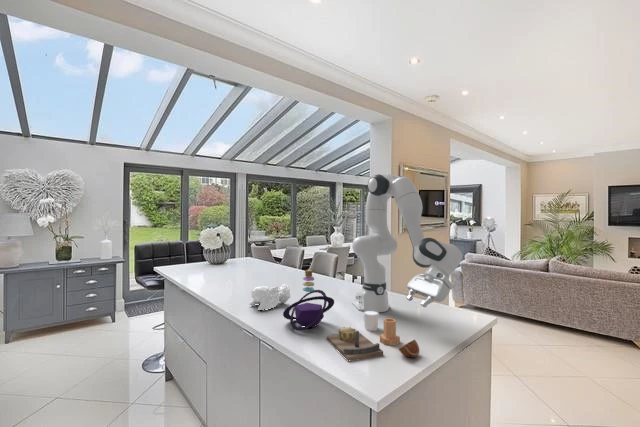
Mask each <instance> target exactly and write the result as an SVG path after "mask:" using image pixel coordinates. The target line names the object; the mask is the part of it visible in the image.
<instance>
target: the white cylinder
mask: <svg viewBox="0 0 640 427" xmlns="http://www.w3.org/2000/svg"><path fill="white" fill-rule="evenodd" d="M379 318H380V312H376V311H363V323H364V324H363V325H364V330H366V331H368V330H369V331H370V332H374V331H377V330H378V328H379Z"/></svg>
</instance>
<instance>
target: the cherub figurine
mask: <svg viewBox="0 0 640 427" xmlns="http://www.w3.org/2000/svg"><path fill="white" fill-rule="evenodd" d="M251 298H252V299H253V300H251V301H250V302H249V304H248V305H254V306H256V305H255V304H260V305H258V308H257V311H258V310H263V309H269V308H273V309H274V307H275V308H276V307H277V305H278V304H279V302H280V303H282V304H283V303H284V304H287V302H288V301H289V300H290V298H291V290H290V288H289V286H288V284H286V283H283V284H281V286H280V287H279V286H278V285H276V286H274V287H273V286H271V287H270V288H269V286H267V285H264V286H256V287H254V288H253V289H252V290H251ZM263 311H264V310H263Z"/></svg>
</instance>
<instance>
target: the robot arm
mask: <svg viewBox="0 0 640 427" xmlns="http://www.w3.org/2000/svg"><path fill="white" fill-rule="evenodd" d="M367 190H368V193H367V197H366V204H365V224H366V226H368V228H370V229H371V230H372V232H373V234H372V235H369V234H368V235H362V236H357V237H355V238H354V240H353V242H352V247H351V248H352V251H353V253H354V254H355V255H356V256H357V257H358V258H359V259H360V261H361V263H362V266H363V273H364V274H363V276H364V277H363V278H364V280H363V281H362V288H361V289H360V290H359V291H357V292H356V295H355V299H354V300H352V301H351V303H352V305H353V306H354V307H355V308H356V309H357V311H361V312H362V311H363V312H365V311H376V312H378V313H384V312H388V310H389V309H390V308H391V304H389V293H388V291H387V282H386V267H385V266H384V265H383V264H381V263H380V262H379V261H378V257H381V256H389V255H392V254H394V253H395V252H396V250H397V249H398V242H397V239H396V238H395V237H394V236H393V235H392V234H391V232H390V230H389V227H388V201H389V199H390V198H392V199H394V201H395V203H396V204H395V205H396V206H397V209H398V210H399V212H400V215H401V218H402V220H403V222H404V224H405V227H406V230H407V233H408V236H409V239H410V242H411V246H412V259H413V262H414V263H415V265H417V266H418V267H420V268H423V269H424V268H426V270H425V271H424V273H420V274H416V275H415V276H413V277H411V279H410V280H409V281H408V282H407V283H406V288H407V290H408V295H407V296H406V300H408V301H409V302H412V300H413V296H414V295H415V294H417V295H420V296H422V297H424V298H426V299H425V300H422V301H421V303H420V306H422V307H423V308H427V306H428V305H430V304H431V303H433V302H434V301H435V302H438V303H441V302H444V300H445V299H446V298H447V297H448V296H449V294H450V293H451V291H452V289H453V288H454V286H455V285H454V284H453V283H452V282H451V281H450V277H451V274H452V273H454V272H455V270H457V268H458V267H459V265H460V264H461V262H462V259H463V253H462V251H461V249H460V248H459V247H458V246H457V245H455V244H453V243H444V242H441V241H438V240H437V239H435V238H432V237H425V235H424V232H423V230H422V226H421V219H422V214H423V207H424V206H423V202H422V199H421V196H420V194H419V191H418V189H417V187H416V185H415V184H414V182H413V181H412V179H410V178H409V177H408V176H401V175H395V174H381V173H380V174H373V175H372V176H370V177H369V179H368V181H367Z"/></svg>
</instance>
